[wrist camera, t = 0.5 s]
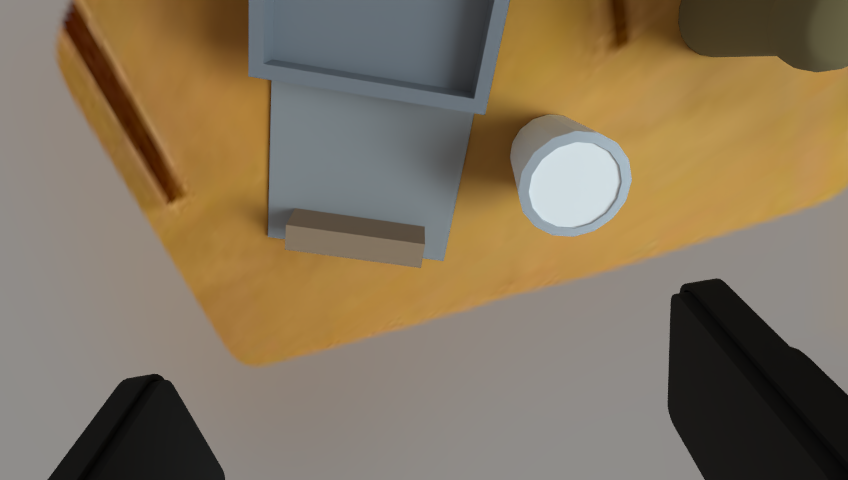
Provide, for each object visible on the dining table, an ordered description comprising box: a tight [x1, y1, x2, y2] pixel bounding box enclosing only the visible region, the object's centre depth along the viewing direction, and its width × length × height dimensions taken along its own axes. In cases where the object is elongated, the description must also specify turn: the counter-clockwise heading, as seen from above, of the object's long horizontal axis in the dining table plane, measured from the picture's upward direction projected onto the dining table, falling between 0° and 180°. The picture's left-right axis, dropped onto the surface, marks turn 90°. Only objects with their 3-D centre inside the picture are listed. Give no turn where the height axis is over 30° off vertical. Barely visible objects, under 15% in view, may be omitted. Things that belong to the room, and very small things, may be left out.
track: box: [268, 80, 474, 268], centre depth 32 cm, size 28×14×3 cm, turn 171°
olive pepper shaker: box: [678, 0, 848, 72], centre depth 27 cm, size 6×6×11 cm
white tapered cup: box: [510, 114, 632, 237], centre depth 33 cm, size 7×7×7 cm
